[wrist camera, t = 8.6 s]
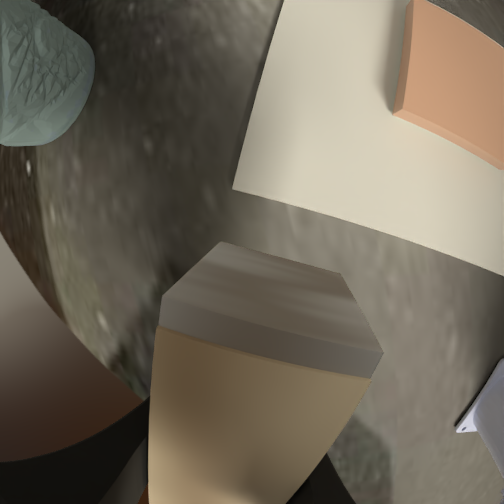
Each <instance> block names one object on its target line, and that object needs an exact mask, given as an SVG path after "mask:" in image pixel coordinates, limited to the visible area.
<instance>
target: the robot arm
mask: <svg viewBox="0 0 504 504" xmlns="http://www.w3.org/2000/svg"><path fill="white" fill-rule="evenodd" d="M149 413H150V396H149V397H148V398H147V399H146V400H145V401H144V402H142V403H141V404H140V405H139V406H137V407H136V408H135V409H133V410H132V411H131V412H129V413H128V414H127V415H125V416H124V417H122V418H121V419H119V420H118V421H116V422H115V423H113V424H112V425H110V426H109V427H107V428H105V429H103V430H102V431H100V432H98V433H97V434H95V435H93V436H91V437H89V438H87V439H85V440H83V441H81V442H78V443H76V444H74V445H71V446H68V447H66V448H63V449H61V450H58V451H55V452H52V453H48V454H45V455H41V456H37V457H32V458H28V459H23V460H16V461H8V462H0V504H137V503H138V501H139V499H140V497H141V495H142V493H143V491H144V489H145V487H146V485H147V484H148V444H149ZM455 431H456V432H457V433H459V432H471V431H478V433H479V434H480V436H481V438H482V439H483V441H484V443H485V445H486V446H487V448H488V450H489V452H490V454H491V455H492V457H493V459H494V461H495V463H496V465H497V467H498V469H499V471H500V472H501V474H502V476H503V478H504V358H503V359H501V360H500V361H499V363H498V364H497V366H496V368H495V370H494V371H493V373H492V375H491V376H490V378H489V380H488V381H487V383H486V384H485V386H484V388H483V389H482V391H481V392H480V394H479V395H478V397H477V398H476V400H475V401H474V403H473V404H472V405H471V407H470V408H469V410H468V411H467V412H466V414H465V415H464V417H463V418H462V419H461V421H460V422H459V423H458V425H457V426H456V427H455ZM501 493H502V495H503V497H504V489H502V490H501ZM286 504H356V503H355V502H354V500H353V499H352V497H351V496H350V494H349V493H348V491H347V489H346V488H345V486H344V485H343V483H342V481H341V479H340V478H339V476H338V474H337V472H336V470H335V468H334V466H333V464H332V463H331V461H330V458H329V456H328V454H327V453H326V454H325V455H324V457H323V458H322V459H321V461H320V462H319V463H318V465H317V466H316V467H315V469H314V470H313V471H312V472H311V474H310V475H309V476H308V478H307V479H306V480H305V481H304V482H303V484H302V485H301V486H300V487H299V489H298V490H297V491H296V492H295V493H294V494H293V496H292V497H291V498H290V499H289V500H288V501H287V502H286ZM500 504H504V498H503V499H502V500H501V502H500Z"/></svg>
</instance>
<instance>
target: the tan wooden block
mask: <svg viewBox="0 0 504 504" xmlns="http://www.w3.org/2000/svg"><path fill="white" fill-rule="evenodd" d="M383 353H384V352H383V350H382V348H381V346H380V344H379V342H378V341H377V339H376V337H375V335H374V333H373V331H372V329H371V327H370V326H369V324H368V322H367V320H366V318H365V316H364V315H363V313H362V311H361V309H360V307H359V306H358V304H357V302H356V300H355V298H354V297H353V295H352V293H351V291H350V290H349V288H348V286H347V284H346V283H345V281H344V279H343V277H342V276H341V274H340V273H336V272H332V271H329V270H325V269H321V268H318V267H314V266H310V265H307V264H303V263H299V262H296V261H292V260H288V259H285V258H281V257H277V256H273V255H270V254H266V253H262V252H259V251H255V250H251V249H248V248H244V247H240V246H236V245H233V244H229V243H225V242H222V241H220V242H219V243H218V244H217V245H216V246H215V247H214V248H213V249H212V250H211V251H210V252H208V253H207V254H206V255H205V256H204V257H203V258H202V259H201V260H200V261H199V262H198V263H197V264H196V265H194V266H193V267H192V268H191V269H190V270H189V271H188V272H187V273H186V274H185V275H184V276H183V277H182V278H181V279H180V280H179V281H177V282H176V283H175V284H174V285H173V286H172V287H171V288H170V289H169V290H168V291H167V292H166V293H165V294H164V295H163V296H162V302H161V310H160V317H159V325H158V327H157V328H156V336H155V346H154V356H153V367H152V380H151V395H150V413H149V444H148V482H149V504H286V502H287V501H288V500H289V499H290V498H291V497H292V496H293V494H294V493H295V492H296V491H297V490H298V489H299V487H300V486H301V485H302V484H303V482H304V481H305V480H306V479H307V478H308V476H309V475H310V474H311V472H312V471H313V470H314V469H315V467H316V466H317V465H318V463H319V462H320V461H321V459H322V458H323V457H324V455H325V454H326V453H327V451H328V450H329V448H330V447H331V445H332V444H333V443H334V441H335V440H336V438H337V437H338V435H339V434H340V432H341V431H342V429H343V428H344V426H345V425H346V423H347V422H348V420H349V419H350V417H351V415H352V414H353V412H354V411H355V409H356V407H357V406H358V404H359V402H360V401H361V399H362V397H363V396H364V394H365V392H366V390H367V389H368V387H369V385H370V383H371V379H370V378H371V376H372V375H373V373H374V371H375V369H376V367H377V365H378V363H379V361H380V359H381V357H382V355H383Z"/></svg>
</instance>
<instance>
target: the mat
mask: <svg viewBox="0 0 504 504" xmlns="http://www.w3.org/2000/svg"><path fill="white" fill-rule="evenodd" d="M425 1H427V0H425ZM409 2H410V0H284V3H283V6H282V9H281V12H280V16H279V19H278V22H277V25H276V29H275V32H274V35H273V39H272V42H271V45H270V49H269V52H268V56H267V59H266V63H265V66H264V70H263V73H262V77H261V80H260V84H259V87H258V91H257V95H256V98H255V102H254V106H253V109H252V113H251V117H250V120H249V124H248V128H247V132H246V136H245V140H244V143H243V147H242V151H241V155H240V159H239V163H238V167H237V171H236V175H235V179H234V183H233V187H232V189H233V190H237V191H241V192H245V193H249V194H253V195H257V196H261V197H265V198H269V199H272V200H276V201H280V202H284V203H287V204H291V205H295V206H298V207H302V208H305V209H309V210H312V211H316V212H319V213H323V214H326V215H330V216H333V217H336V218H340V219H343V220H346V221H350V222H353V223H356V224H359V225H363V226H366V227H369V228H372V229H375V230H378V231H382V232H385V233H388V234H391V235H394V236H397V237H400V238H403V239H406V240H409V241H412V242H414V243H417V244H420V245H423V246H426V247H429V248H432V249H434V250H437V251H440V252H443V253H445V254H448V255H451V256H453V257H456V258H459V259H461V260H464V261H467V262H469V263H472V264H475V265H477V266H480V267H482V268H485V269H487V270H490V271H492V272H495V273H497V274H500V275H502V276H504V170H499V169H497V168H496V167H494V166H492V165H491V164H489V163H488V162H486V161H484V160H483V159H481V158H479V157H477V156H476V155H474V154H472V153H470V152H469V151H467V150H465V149H463V148H461V147H460V146H458V145H456V144H454V143H452V142H450V141H448V140H446V139H444V138H442V137H440V136H438V135H436V134H434V133H432V132H430V131H428V130H426V129H423V128H421V127H419V126H417V125H415V124H412V123H410V122H408V121H405V120H403V119H401V118H398V117H396V116H393V115H392V113H393V107H394V102H395V96H396V90H397V83H398V77H399V70H400V62H401V54H402V46H403V36H404V25H405V12H406V6H407V4H408V3H409ZM427 2H429V1H427ZM429 3H431V2H429ZM431 4H433V3H431ZM433 5H435V4H433ZM435 6H437V5H435ZM437 7H438V6H437ZM439 8H440V7H439ZM441 9H442V8H441ZM443 10H444V9H443ZM445 11H446V10H445ZM446 12H448V11H446ZM448 13H450V12H448ZM450 14H451V13H450ZM452 15H453V14H452ZM454 16H455V15H454ZM455 17H457V16H455ZM457 18H458V17H457ZM459 19H460V18H459ZM460 20H462V19H460ZM462 21H463V20H462ZM464 22H465V21H464ZM465 23H467V22H465ZM467 24H468V23H467ZM469 25H470V24H469ZM470 26H472V25H470ZM472 27H473V26H472ZM473 28H475V27H473ZM475 29H476V28H475ZM477 30H478V29H477ZM478 31H479V30H478ZM480 32H481V31H480ZM481 33H482V32H481ZM483 34H484V33H483ZM484 35H485V34H484ZM486 36H487V35H486ZM487 37H488V36H487ZM488 38H490V37H488ZM490 39H491V38H490ZM491 40H492V39H491ZM493 41H494V40H493ZM494 42H495V41H494ZM495 43H497V42H495ZM497 44H498V43H497ZM498 45H499V44H498ZM500 46H501V45H500ZM501 47H502V46H501ZM502 48H503V47H502Z"/></svg>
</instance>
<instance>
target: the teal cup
mask: <svg viewBox="0 0 504 504" xmlns="http://www.w3.org/2000/svg"><path fill="white" fill-rule="evenodd" d="M94 73H95V57H94V54H93V51H92V49H91V47H90V45H89V44H88V43H87V42H86V41H85V40H84V39H83V38H82V37H81V36H79V35H78V34H76V33H75V32H74V31H72V30H71V29H69V28H68V27H66V26H65V25H64V24H63V23H62V22H60V21H58V19H57V18H55V17H52V16H51V15H50V14H49V13H48V11H46V10H44V9H40V6H39V5H38V4H36V3H34V2H32V1H31V0H0V144H3V145H5V146H33V145H43V144H46V143H49V142H51V141H53V140H55V139H56V138H58V137H59V136H61V135H62V134H63V133H64V132H65V131H66V130H67V129H68V128H69V127H70V126H71V125H72V124H73V122H74V121H75V120H76V118H77V117H78V116H79V114H80V112H81V110H82V109H83V107H84V105H85V103H86V101H87V99H88V96H89V93H90V90H91V87H92V84H93V80H94Z"/></svg>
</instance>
